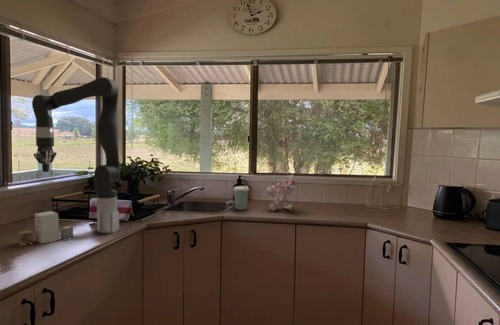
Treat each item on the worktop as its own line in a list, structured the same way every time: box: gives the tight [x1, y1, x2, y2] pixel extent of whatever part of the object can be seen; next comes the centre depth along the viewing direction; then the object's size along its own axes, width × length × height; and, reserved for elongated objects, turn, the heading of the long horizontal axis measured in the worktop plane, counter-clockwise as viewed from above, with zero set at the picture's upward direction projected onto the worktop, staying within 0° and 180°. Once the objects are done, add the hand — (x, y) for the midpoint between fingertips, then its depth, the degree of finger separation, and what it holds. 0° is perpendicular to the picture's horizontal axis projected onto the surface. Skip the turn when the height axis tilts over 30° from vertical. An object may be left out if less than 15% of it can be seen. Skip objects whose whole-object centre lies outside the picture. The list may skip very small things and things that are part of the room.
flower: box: [264, 172, 297, 212], centre depth 224 cm, size 20×22×25 cm
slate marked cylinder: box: [60, 225, 74, 240], centre depth 154 cm, size 5×5×5 cm
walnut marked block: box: [18, 229, 35, 246], centre depth 145 cm, size 5×5×5 cm
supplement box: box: [34, 210, 60, 244], centre depth 149 cm, size 7×7×13 cm
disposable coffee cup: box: [232, 185, 250, 211], centre depth 222 cm, size 11×11×15 cm
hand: (45, 171), depth 165 cm, fingers closed
